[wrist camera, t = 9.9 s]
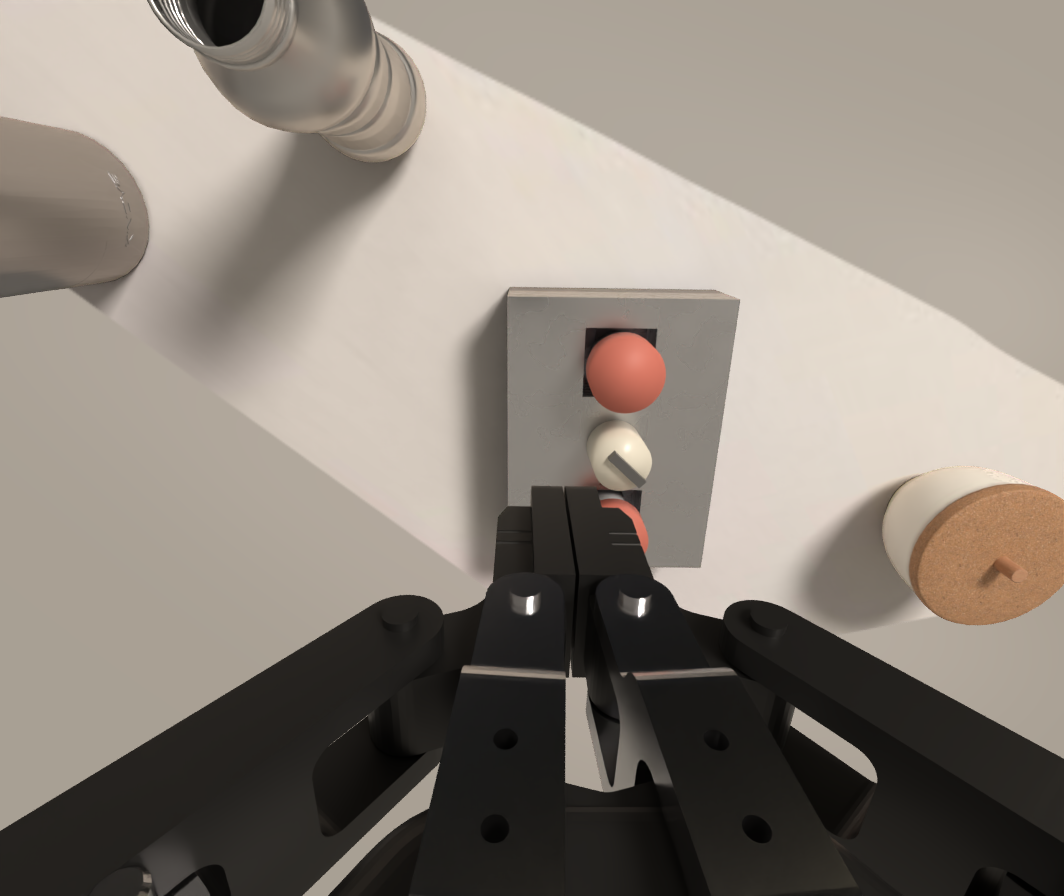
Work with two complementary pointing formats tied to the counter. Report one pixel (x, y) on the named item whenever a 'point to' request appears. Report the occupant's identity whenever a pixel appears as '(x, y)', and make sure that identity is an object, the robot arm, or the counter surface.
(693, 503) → the panel
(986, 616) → the lidded jar
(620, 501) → the knob outer
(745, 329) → the counter surface
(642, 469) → the dial
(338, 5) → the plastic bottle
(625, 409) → the knob inner
